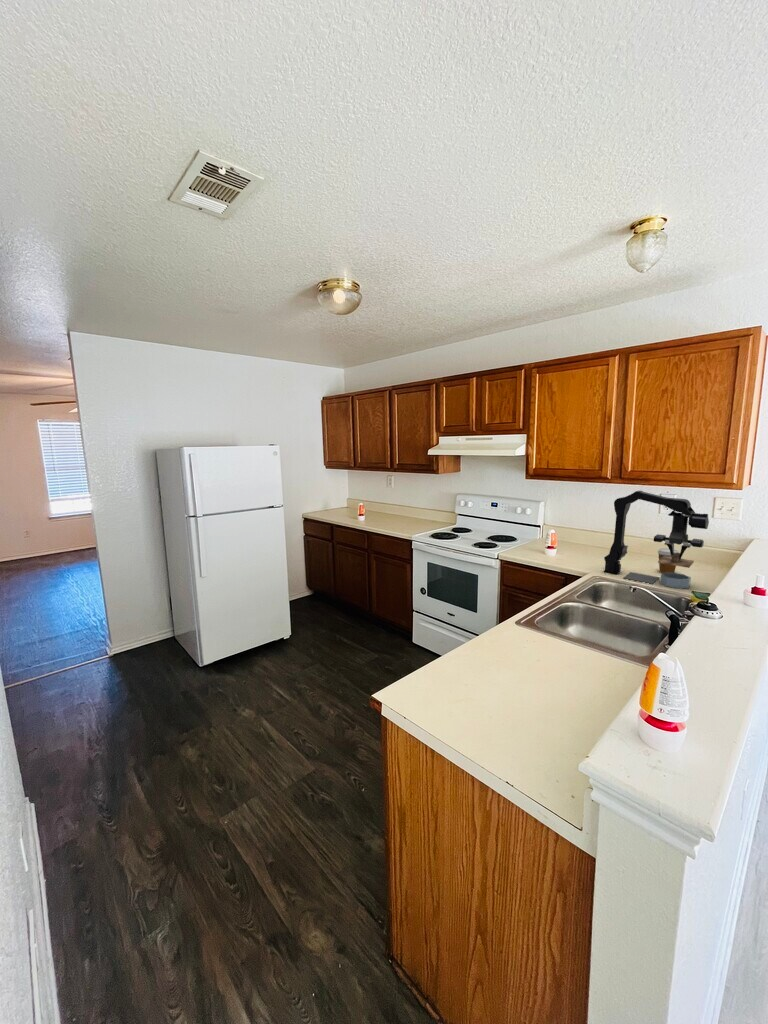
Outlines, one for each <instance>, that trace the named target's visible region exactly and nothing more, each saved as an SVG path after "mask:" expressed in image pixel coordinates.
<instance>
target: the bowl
mask: <svg viewBox="0 0 768 1024" xmlns="http://www.w3.org/2000/svg"><path fill="white" fill-rule="evenodd" d="M691 581H692V577H691V576H689V575H686V574H684V573H683V574H682V573H678V572H674V573H660V581H659V582H660V584H661V585H663V586H665V585H666V586H665V587H668V586H669V587H668V588H672V587H673V589H679V588H686V589H688V588H690V586H691Z"/></svg>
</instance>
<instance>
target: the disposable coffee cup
mask: <svg viewBox="0 0 768 1024" xmlns="http://www.w3.org/2000/svg"><path fill="white" fill-rule="evenodd" d="M674 553H680V551H679V550H677V549H674ZM657 554H658V561H659V560H660V559H661V558H662V557H663V556H667V557H672V556H671V553H670V550H669V548H659V549H658V550H657ZM658 566H659V567H658V568H659V569H658V570H659V573H660V572H661V573H660V574H662V573H676V568H677V566H675V565H668V564H662V563H658Z"/></svg>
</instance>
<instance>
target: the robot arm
mask: <svg viewBox="0 0 768 1024" xmlns="http://www.w3.org/2000/svg"><path fill="white" fill-rule="evenodd" d="M639 500H641V501H644V502H649V503H651V504H657V505H660V506H664V507H666V508H668V509H670V510H671V512H670V513H668V514H667V515H668V516H670V517H672V523H671V524H672V525H671V532H670V533H669V536H667V535H666V534H658V533H657V534H656V535H654V536H653V543H654V542H655V543H662V542H664V545H666V546H667V549H669V550H670V553H671V556H672V555H673V554H674V550H675V545H681V547H680V548H681V549H680V551H679V553H680V556H679V559H682V557H683V555H684V553H685V552H686V550H687V549H690V548H691V547H694V548H699V549H700V548H703V547H704V545H705V544H704V543H705V541H704V540H703V539H701V538H700V539H699V538H698V539H697V538H693V539H689V535H688V534H687V532H688V526H690V528H692V529H693V528H694V529H702V530H707V529H708V527H709V524H710V523H709V522H710V520H709V514H708V513H696V511H695V510H694V509H693V508H692V504H691V502H690V500H688V499H687V498H678V497H677V498H675V497H667V496H663V495H662V496H661V495H659V494H654V493H651V492H650V493H649V492H647V491H643V490H636V491H634V492H632V493H631V494H628V495H626V496H622V497H618V498H616V499H615V500H614V502H613V507H614V512H615V526H614V534H613V535H614V536H613V542H612V545H611V547H610V549H609V552H608V553H607V555H605V556H604V562H605V563H604V570H603V573H607V574H613V575H618V574H619V573H621V571H622V564H621V560H622V558H624V557H625V556H626V555H627V554H628V547H629V546H628V545H626V544H625V531H626V521H627V515H628V512H629V510H630V508H631V505H632V504H633V503H635V502H637V501H639Z"/></svg>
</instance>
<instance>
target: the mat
mask: <svg viewBox="0 0 768 1024" xmlns="http://www.w3.org/2000/svg"><path fill="white" fill-rule="evenodd" d="M659 578H660V579H661V576H660V577H659V576H656V575H655V576H654V575H649V574H644V573H643V574H642V573H637V572H632V571H630V572H629V573H627V574H626V575H625V576H623V577H622V579H623V580H626V579H628V580H627V581H631V580H634V581H633V582H637V581H640V582H639V583H642V582H645V583H644V584H647V583H649V584H648V585H653V584H654V583H655V582H656V581H657V580H658V579H659ZM660 579H659V580H660ZM659 580H658V581H659ZM658 581H657V582H658ZM657 582H656V583H657ZM656 583H655V584H656ZM655 584H654V585H655Z"/></svg>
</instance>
